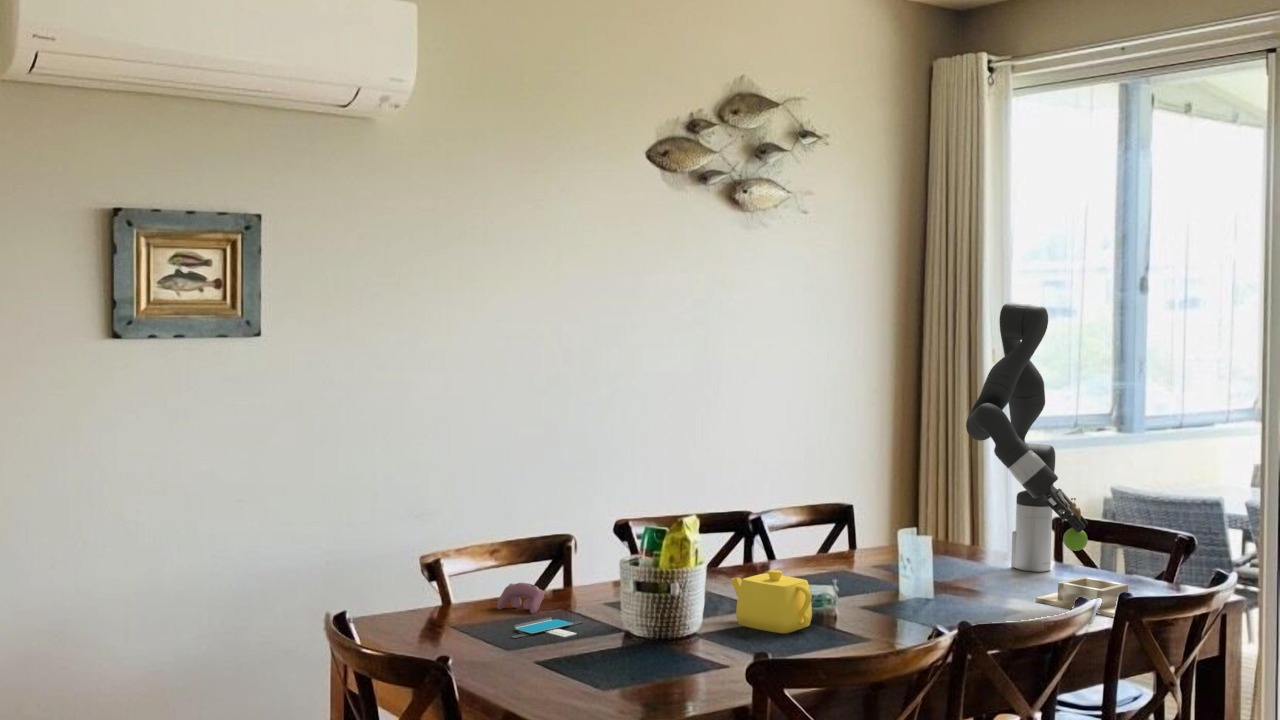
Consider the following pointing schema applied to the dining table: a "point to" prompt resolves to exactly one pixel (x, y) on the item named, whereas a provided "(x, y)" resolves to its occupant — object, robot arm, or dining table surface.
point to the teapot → (773, 602)
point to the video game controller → (521, 590)
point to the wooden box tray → (1086, 593)
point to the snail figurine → (1075, 533)
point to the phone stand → (545, 627)
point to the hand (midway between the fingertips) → (1083, 528)
